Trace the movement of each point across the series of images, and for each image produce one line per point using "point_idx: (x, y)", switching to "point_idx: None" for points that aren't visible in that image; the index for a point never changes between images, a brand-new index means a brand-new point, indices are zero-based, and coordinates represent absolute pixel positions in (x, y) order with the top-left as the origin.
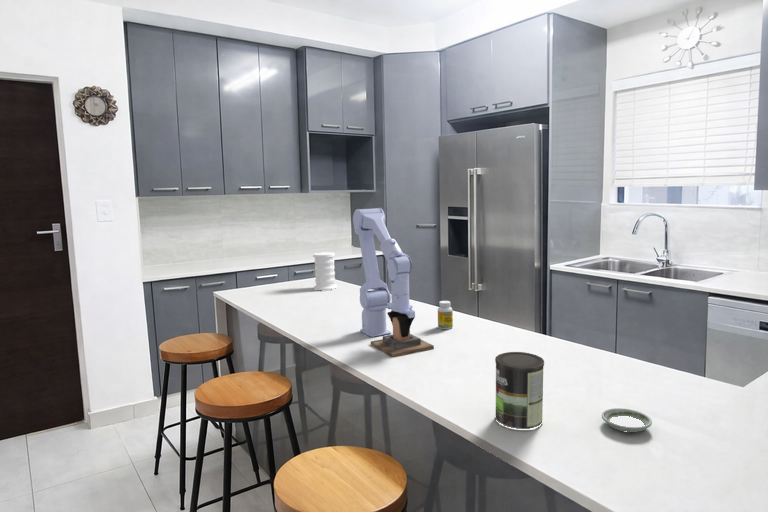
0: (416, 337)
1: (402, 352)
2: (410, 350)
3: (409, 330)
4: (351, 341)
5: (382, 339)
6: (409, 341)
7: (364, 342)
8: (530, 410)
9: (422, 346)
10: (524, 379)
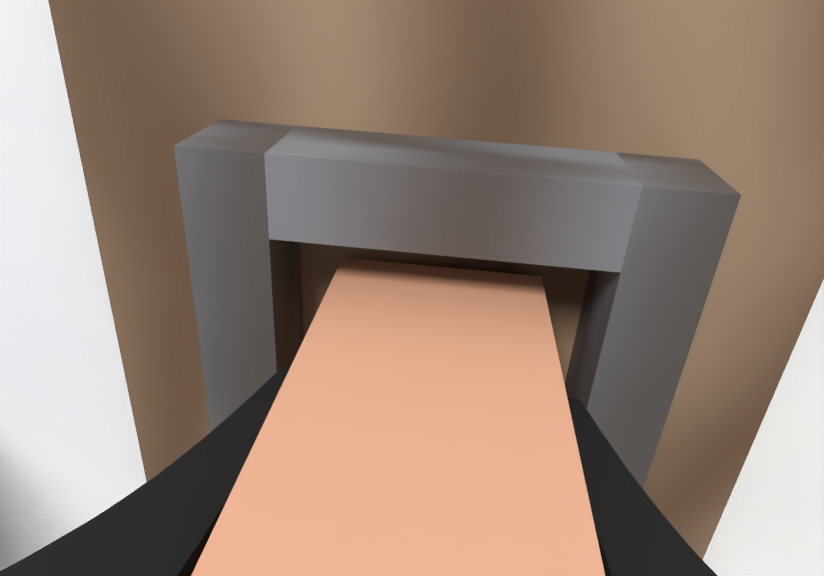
0: (615, 211)
1: (722, 501)
2: (763, 415)
3: (565, 413)
4: (2, 563)
5: (144, 416)
6: (669, 401)
7: (80, 508)
8: None
9: (791, 192)
10: None
